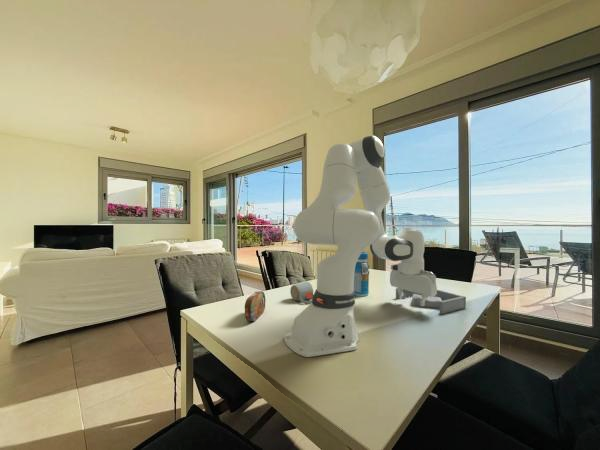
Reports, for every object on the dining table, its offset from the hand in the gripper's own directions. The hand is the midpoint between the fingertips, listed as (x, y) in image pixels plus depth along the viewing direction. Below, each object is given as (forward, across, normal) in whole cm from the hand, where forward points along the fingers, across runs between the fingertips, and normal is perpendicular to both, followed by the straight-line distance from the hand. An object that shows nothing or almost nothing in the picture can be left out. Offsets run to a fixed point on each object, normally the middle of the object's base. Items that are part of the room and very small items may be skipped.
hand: (411, 302), depth 108 cm
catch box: (+2, +1, -11) cm, 11 cm away
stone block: (+3, 0, -9) cm, 10 cm away
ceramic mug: (+3, +28, +35) cm, 45 cm away
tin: (+3, +19, +60) cm, 63 cm away
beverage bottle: (+2, +24, +6) cm, 25 cm away
